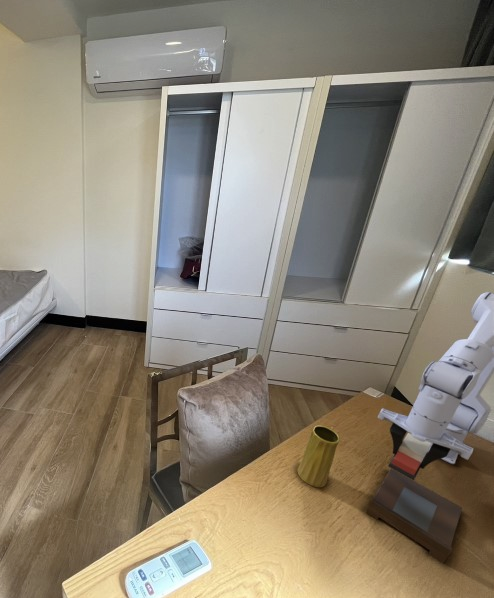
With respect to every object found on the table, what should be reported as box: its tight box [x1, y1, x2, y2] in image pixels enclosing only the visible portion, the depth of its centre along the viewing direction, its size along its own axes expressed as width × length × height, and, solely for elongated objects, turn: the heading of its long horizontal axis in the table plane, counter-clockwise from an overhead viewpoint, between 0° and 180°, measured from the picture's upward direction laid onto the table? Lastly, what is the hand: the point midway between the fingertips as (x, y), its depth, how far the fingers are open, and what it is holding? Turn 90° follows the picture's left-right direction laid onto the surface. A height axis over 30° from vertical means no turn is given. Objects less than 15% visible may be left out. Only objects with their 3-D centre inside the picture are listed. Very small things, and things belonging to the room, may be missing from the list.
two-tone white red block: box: [387, 432, 431, 481], centre depth 71 cm, size 10×4×4 cm, turn 125°
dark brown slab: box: [365, 468, 463, 564], centre depth 67 cm, size 16×12×4 cm
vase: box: [296, 425, 341, 488], centre depth 74 cm, size 6×6×14 cm
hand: (408, 458), depth 71 cm, fingers closed on two-tone white red block, 4 cm apart
